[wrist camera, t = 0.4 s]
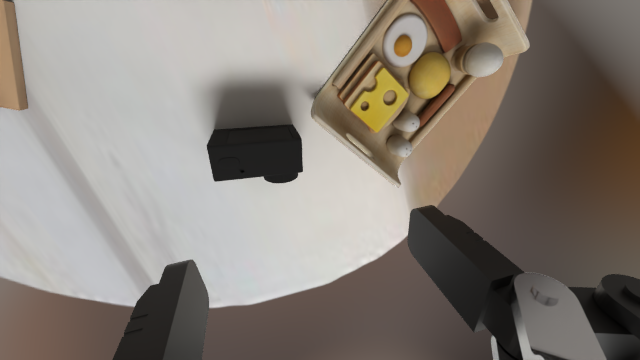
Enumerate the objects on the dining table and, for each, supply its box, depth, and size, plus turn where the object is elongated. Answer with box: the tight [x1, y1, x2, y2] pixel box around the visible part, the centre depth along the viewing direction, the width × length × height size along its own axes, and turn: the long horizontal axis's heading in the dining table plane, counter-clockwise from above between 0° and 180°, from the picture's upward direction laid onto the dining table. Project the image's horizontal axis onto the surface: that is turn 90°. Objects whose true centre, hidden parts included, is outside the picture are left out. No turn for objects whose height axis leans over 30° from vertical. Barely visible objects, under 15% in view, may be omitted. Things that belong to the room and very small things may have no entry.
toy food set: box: [311, 0, 529, 188], centre depth 34 cm, size 25×18×8 cm
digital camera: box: [207, 124, 303, 183], centre depth 33 cm, size 10×5×7 cm, turn 90°
